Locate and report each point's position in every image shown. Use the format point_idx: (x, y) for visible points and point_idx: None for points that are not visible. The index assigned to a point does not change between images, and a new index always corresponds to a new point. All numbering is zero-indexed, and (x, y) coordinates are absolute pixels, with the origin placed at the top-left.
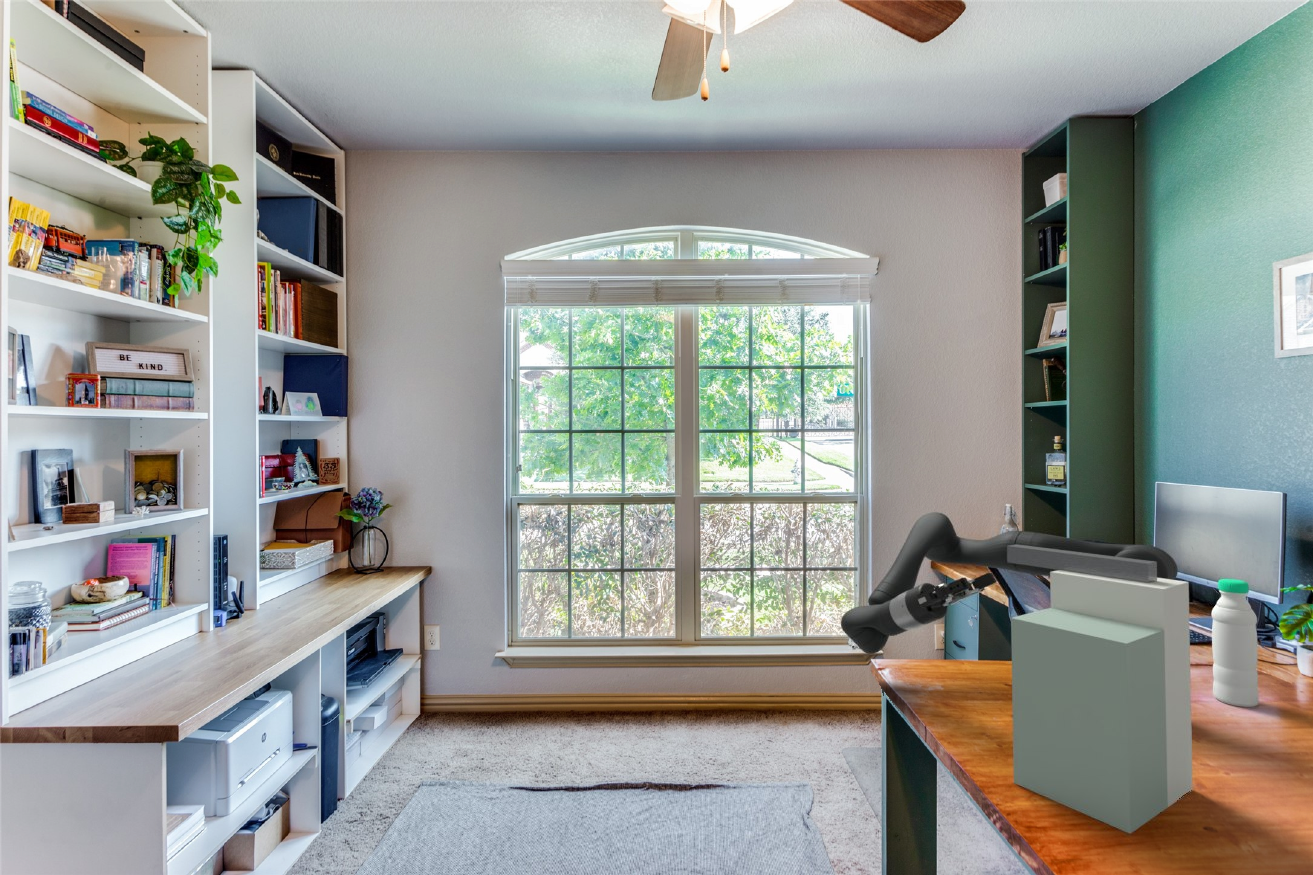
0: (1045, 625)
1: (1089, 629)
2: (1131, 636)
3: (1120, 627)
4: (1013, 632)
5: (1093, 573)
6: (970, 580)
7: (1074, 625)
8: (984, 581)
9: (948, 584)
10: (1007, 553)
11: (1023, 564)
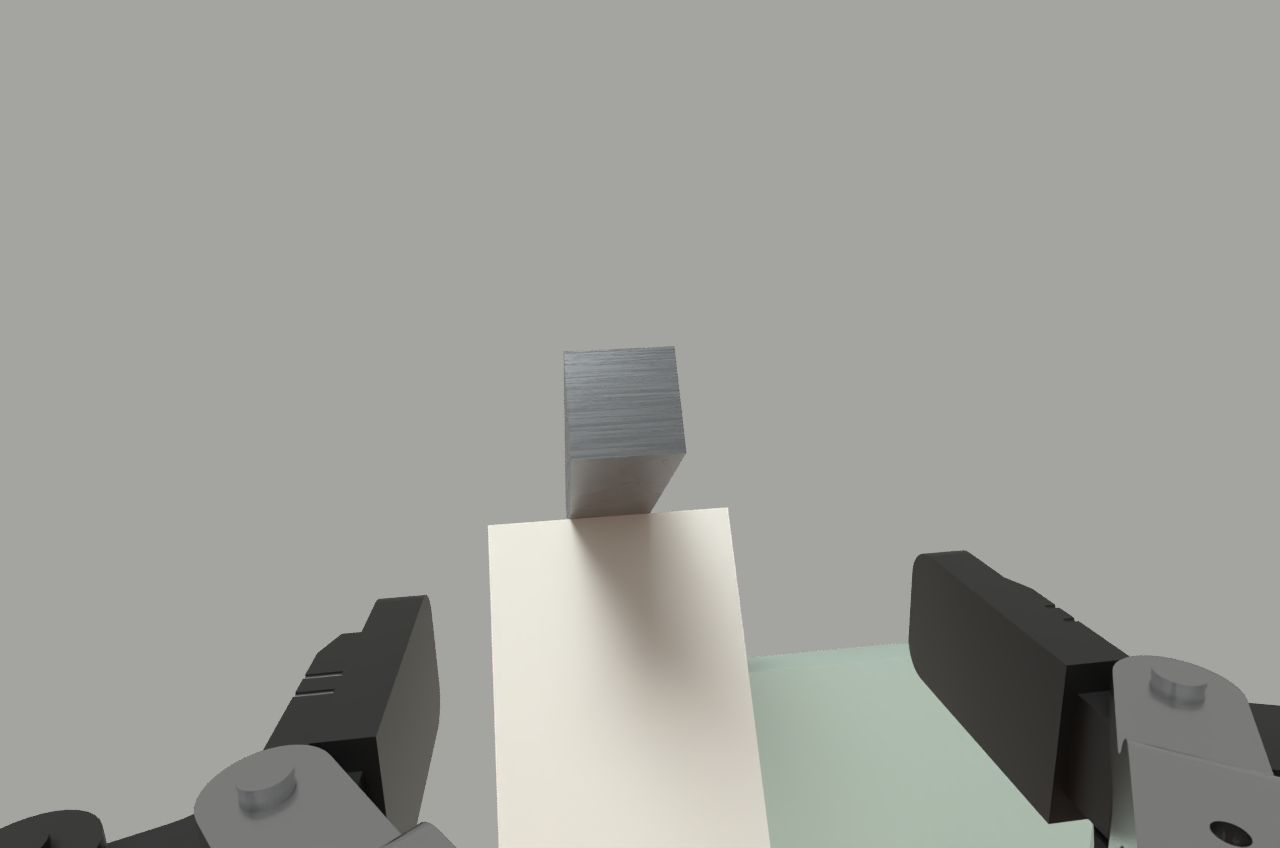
0: None
1: (874, 649)
2: (819, 651)
3: (767, 658)
4: None
5: None
6: (363, 797)
7: (883, 650)
8: (414, 733)
9: (1116, 670)
10: (679, 395)
11: (669, 477)
